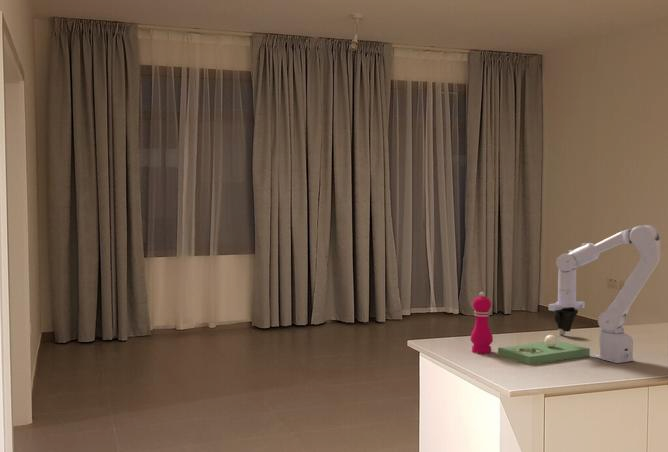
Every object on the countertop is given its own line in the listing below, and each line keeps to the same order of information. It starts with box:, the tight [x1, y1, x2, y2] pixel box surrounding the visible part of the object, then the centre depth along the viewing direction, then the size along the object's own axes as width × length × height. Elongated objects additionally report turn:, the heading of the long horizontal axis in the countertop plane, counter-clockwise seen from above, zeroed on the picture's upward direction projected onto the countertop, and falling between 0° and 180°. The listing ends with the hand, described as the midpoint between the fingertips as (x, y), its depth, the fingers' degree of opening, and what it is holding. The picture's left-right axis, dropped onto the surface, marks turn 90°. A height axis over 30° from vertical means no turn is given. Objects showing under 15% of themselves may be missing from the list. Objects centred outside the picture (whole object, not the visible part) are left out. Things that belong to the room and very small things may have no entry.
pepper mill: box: [470, 291, 494, 355], centre depth 221 cm, size 7×7×20 cm
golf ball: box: [543, 334, 558, 347], centre depth 217 cm, size 4×4×4 cm
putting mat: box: [497, 339, 591, 366], centre depth 216 cm, size 14×26×2 cm, turn 117°
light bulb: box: [553, 311, 566, 337], centre depth 248 cm, size 6×6×10 cm
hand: (566, 330), depth 220 cm, fingers closed
